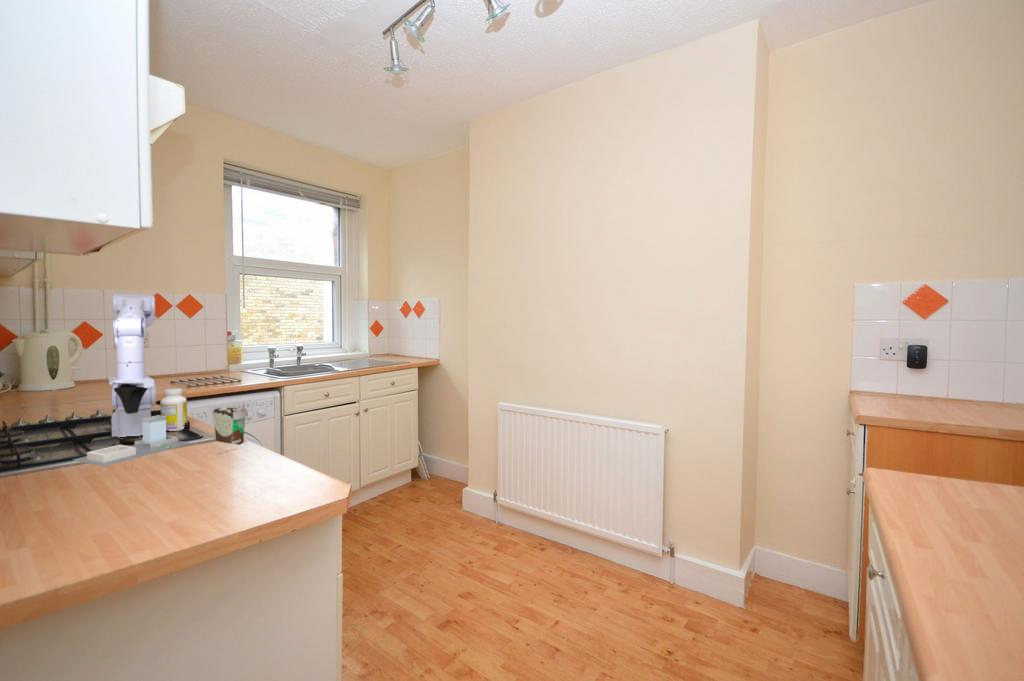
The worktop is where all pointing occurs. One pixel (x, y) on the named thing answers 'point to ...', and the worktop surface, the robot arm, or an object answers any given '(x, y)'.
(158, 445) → the port
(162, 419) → the plug
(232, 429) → the food container
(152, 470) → the worktop surface
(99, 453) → the frame
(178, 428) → the supplement bottle
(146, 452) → the panel
